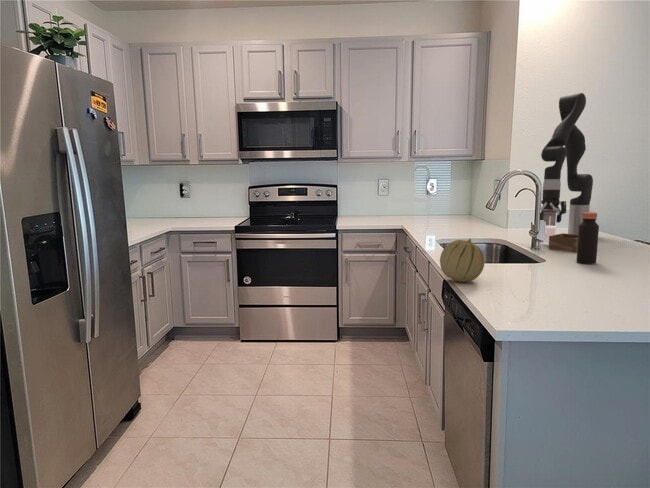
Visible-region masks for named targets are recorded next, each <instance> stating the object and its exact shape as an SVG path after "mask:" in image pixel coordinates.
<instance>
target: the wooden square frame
mask: <svg viewBox="0 0 650 488" xmlns="http://www.w3.org/2000/svg"><path fill="white" fill-rule="evenodd" d="M577 246H578V235H575V234H568V233H565V232H564V233H557V234H555V235H552V236H549V245H548V250H556V251H562V252H571V253H577Z"/></svg>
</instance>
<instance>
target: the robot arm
mask: <svg viewBox="0 0 650 488" xmlns="http://www.w3.org/2000/svg"><path fill="white" fill-rule="evenodd" d="M586 104H587V97H586V95H585V93H583V92H575V93H569V94H565V95H561V96H560V98H559V100H558V109H559V115H560V120H561V122H559V124H558V125H557V126H556V127H555V128H554V131H553V134H552V136H551V138H550V139H549V141H548V142H547V143H546V145H544V147H543V149H542V150H541V154H540V155H541V156H540V158H541V159H542V161H543V162H548V163H549V162H554V164H553V165H551V166H547V167H545V168H544V174H543V175H544V176H543V184H542V195H541V196H542V198H541V205H542V206H540V209H541V213H540V220H543V212H544V211H545V210H546V209H550V210H554V211H555V212H556V221H555V223H556V224H557V223H558V224H560V223H561V221H562V215H564V214H566V213H567V201H566V200H562V201H561V200H560V198H561V197H560V196H561V188H562V187H561V184H562V183H561V176H562V175H561V174H562V168H563V166H564V163H565V160H566V171H567V172H566V176H567V178H566V179H567V180H566V181H567V182H566V183H567V188H568V191H570V192H578V193H579V192H580V195H578V196H576V197H573V198H571V199H570V200H569V211H568V228H567V234H575V235H578V232H579V225H580V224H581V223H582V222H583V218H582V214H583V212H590V207H591V205H590V204H591V201H592V192H593V185H594V178H593V176H592V175H591V174H587V173H578V165H579V163H580V161H581V159H582V157H583V156H584V154H585V152H586V147H587V146H586V145H587V144H586V139H585V135H584V133H583V132H582V131H581V129H580V128H578V126H577V125H576V123H577V122H578V120H579V118H580V117H581V115H582V113H583V111H584V110H585V108H586ZM559 206H560V207H559Z"/></svg>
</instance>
